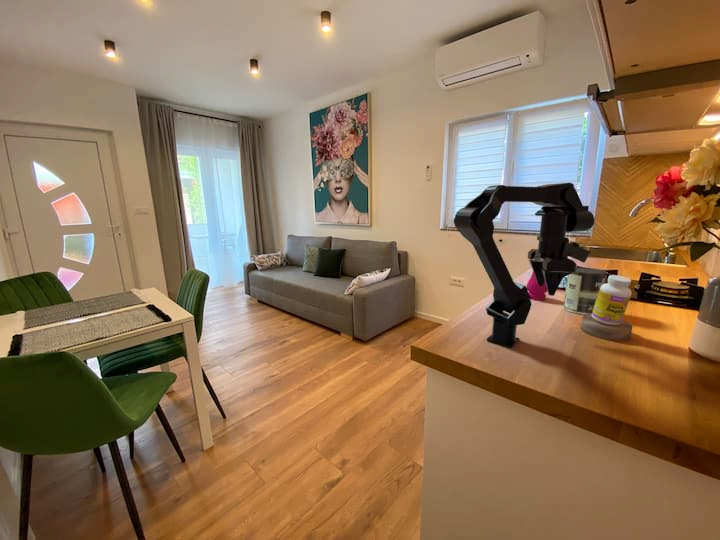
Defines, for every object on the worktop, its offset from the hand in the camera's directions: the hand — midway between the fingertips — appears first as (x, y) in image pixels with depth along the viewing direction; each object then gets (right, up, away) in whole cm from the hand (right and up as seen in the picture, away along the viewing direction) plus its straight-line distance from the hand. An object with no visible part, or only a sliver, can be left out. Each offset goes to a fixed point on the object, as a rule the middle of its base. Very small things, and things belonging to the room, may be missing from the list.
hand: (545, 290), depth 81 cm
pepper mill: (+18, -6, +34) cm, 39 cm away
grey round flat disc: (+19, -13, +4) cm, 23 cm away
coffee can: (+25, -8, +21) cm, 34 cm away
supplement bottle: (+19, -9, +3) cm, 21 cm away
